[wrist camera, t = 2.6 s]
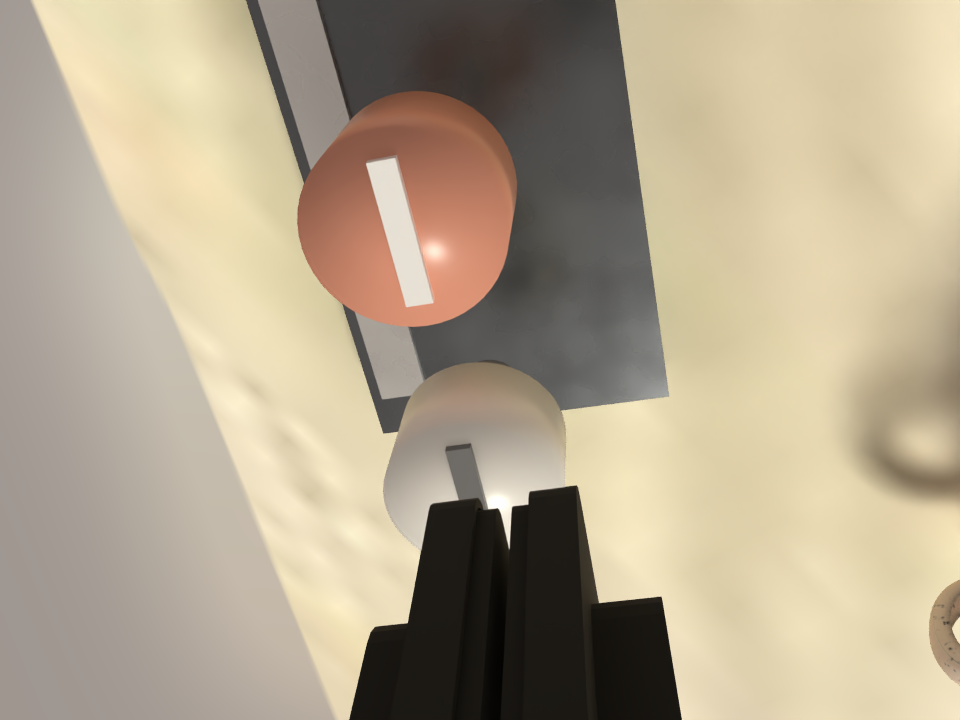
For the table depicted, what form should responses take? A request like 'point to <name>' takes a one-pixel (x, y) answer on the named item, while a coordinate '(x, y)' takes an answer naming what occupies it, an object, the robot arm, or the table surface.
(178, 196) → the table surface
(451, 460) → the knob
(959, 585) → the teacup with lid
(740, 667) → the table surface
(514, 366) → the mount plate
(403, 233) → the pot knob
